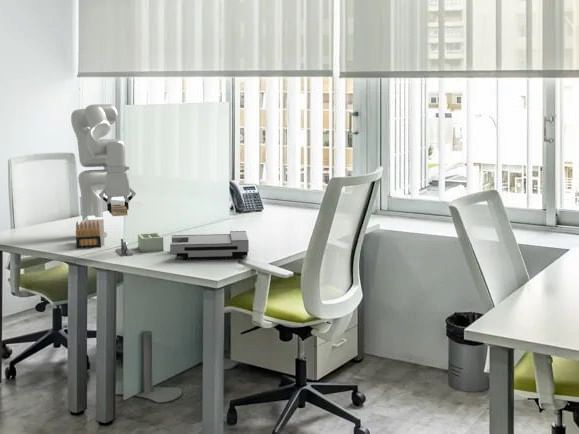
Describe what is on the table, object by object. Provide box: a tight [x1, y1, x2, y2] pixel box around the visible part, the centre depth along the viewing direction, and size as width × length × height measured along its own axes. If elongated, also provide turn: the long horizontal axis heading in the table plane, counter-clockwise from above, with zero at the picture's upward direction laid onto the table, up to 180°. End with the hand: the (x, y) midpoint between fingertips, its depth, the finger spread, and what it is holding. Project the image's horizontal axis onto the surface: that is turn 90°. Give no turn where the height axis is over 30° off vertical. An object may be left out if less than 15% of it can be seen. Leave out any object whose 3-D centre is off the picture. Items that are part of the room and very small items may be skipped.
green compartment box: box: [137, 232, 164, 253], centre depth 329 cm, size 11×9×6 cm
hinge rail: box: [115, 238, 134, 257], centre depth 322 cm, size 13×5×5 cm, turn 22°
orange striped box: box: [78, 216, 105, 246], centre depth 340 cm, size 11×11×12 cm
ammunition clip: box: [75, 220, 102, 249], centre depth 332 cm, size 11×2×12 cm, turn 105°
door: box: [110, 203, 128, 217], centre depth 320 cm, size 13×6×3 cm, turn 20°
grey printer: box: [169, 230, 250, 261], centre depth 319 cm, size 21×32×8 cm, turn 97°
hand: (118, 211), depth 320 cm, fingers closed on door, 6 cm apart
